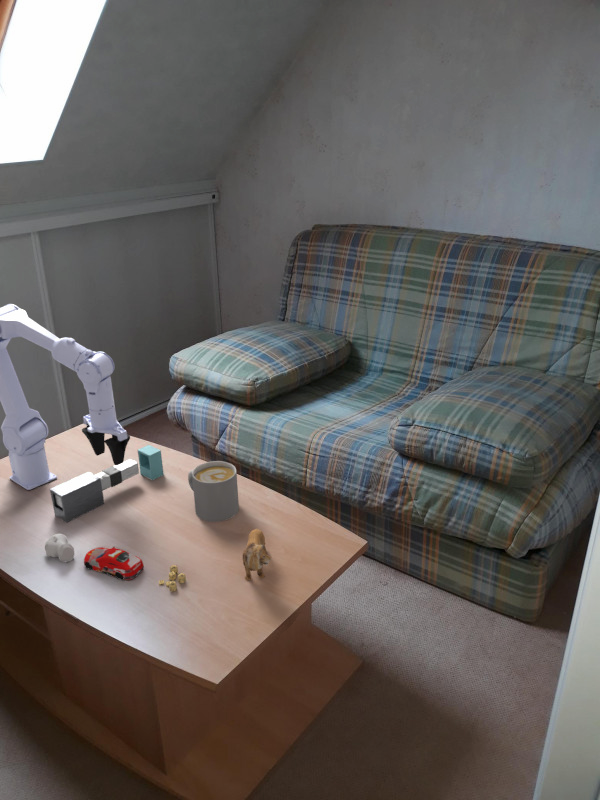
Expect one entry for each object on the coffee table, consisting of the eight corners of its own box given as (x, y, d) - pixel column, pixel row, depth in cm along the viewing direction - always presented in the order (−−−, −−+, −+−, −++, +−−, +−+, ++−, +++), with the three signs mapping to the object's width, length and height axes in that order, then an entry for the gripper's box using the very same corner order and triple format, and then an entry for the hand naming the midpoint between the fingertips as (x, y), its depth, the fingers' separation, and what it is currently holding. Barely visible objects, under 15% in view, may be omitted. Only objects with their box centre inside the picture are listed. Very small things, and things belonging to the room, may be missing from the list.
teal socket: (140, 474, 167) (137, 449, 164) (151, 468, 170) (148, 444, 167) (152, 480, 164) (149, 455, 161) (163, 474, 167) (160, 450, 164)
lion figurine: (272, 589, 126) (271, 551, 122) (245, 592, 125) (242, 553, 122) (265, 544, 139) (264, 508, 136) (240, 546, 139) (238, 510, 135)
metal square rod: (56, 504, 149) (54, 492, 148) (131, 469, 163) (129, 458, 162) (64, 510, 147) (62, 497, 146) (139, 474, 161) (138, 462, 160)
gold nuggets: (174, 571, 132) (174, 564, 131) (192, 582, 129) (191, 574, 128) (155, 584, 129) (154, 576, 128) (172, 595, 126) (171, 587, 125)
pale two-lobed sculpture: (46, 554, 139) (67, 539, 141) (58, 573, 133) (80, 557, 135) (36, 540, 137) (58, 525, 139) (48, 558, 131) (71, 543, 133)
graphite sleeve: (54, 515, 150) (49, 488, 148) (92, 497, 157) (88, 471, 155) (66, 522, 148) (61, 496, 145) (104, 504, 154) (100, 478, 152)
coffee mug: (247, 510, 151) (245, 472, 147) (210, 527, 145) (207, 488, 141) (215, 487, 161) (212, 451, 157) (179, 502, 155) (175, 465, 151)
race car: (79, 567, 134) (76, 551, 132) (98, 552, 138) (95, 536, 136) (130, 585, 128) (127, 569, 126) (148, 569, 132) (145, 553, 131)
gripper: (68, 403, 151) (77, 455, 157) (105, 420, 143) (113, 475, 148) (95, 394, 156) (102, 445, 162) (132, 410, 148) (138, 463, 153)
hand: (109, 458), depth 155 cm, fingers open, 7 cm apart
